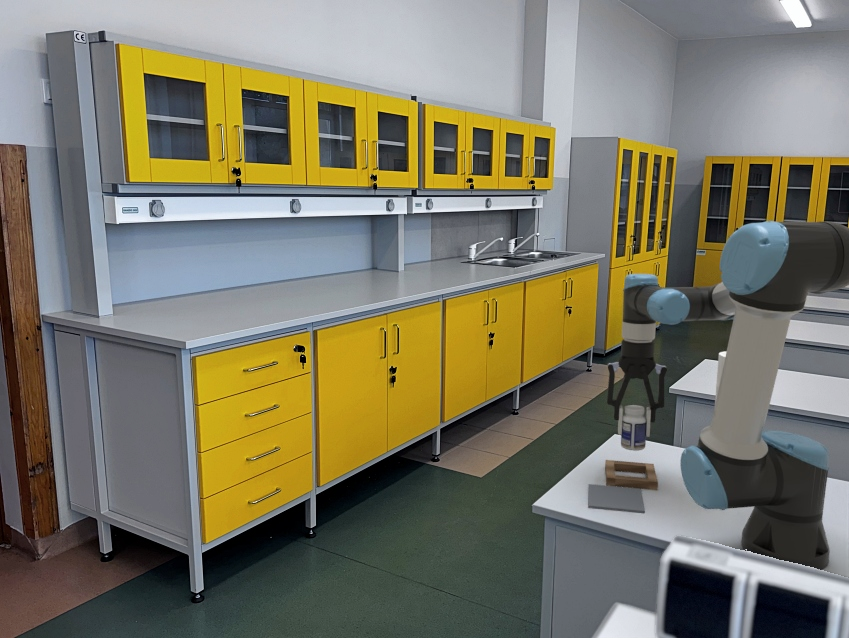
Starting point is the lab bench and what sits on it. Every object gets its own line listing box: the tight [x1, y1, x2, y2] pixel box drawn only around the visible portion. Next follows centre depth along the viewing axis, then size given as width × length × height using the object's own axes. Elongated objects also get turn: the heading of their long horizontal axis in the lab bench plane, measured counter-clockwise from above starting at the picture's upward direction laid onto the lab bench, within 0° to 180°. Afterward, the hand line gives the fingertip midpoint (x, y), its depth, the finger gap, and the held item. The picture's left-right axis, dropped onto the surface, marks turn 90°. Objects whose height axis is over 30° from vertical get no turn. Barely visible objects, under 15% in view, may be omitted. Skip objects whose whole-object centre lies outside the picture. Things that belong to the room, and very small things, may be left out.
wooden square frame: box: [604, 459, 659, 491], centre depth 169 cm, size 12×12×2 cm
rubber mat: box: [587, 483, 646, 514], centre depth 158 cm, size 12×12×1 cm
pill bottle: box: [620, 404, 647, 452], centre depth 167 cm, size 6×6×10 cm
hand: (633, 433), depth 167 cm, fingers closed on pill bottle, 6 cm apart
